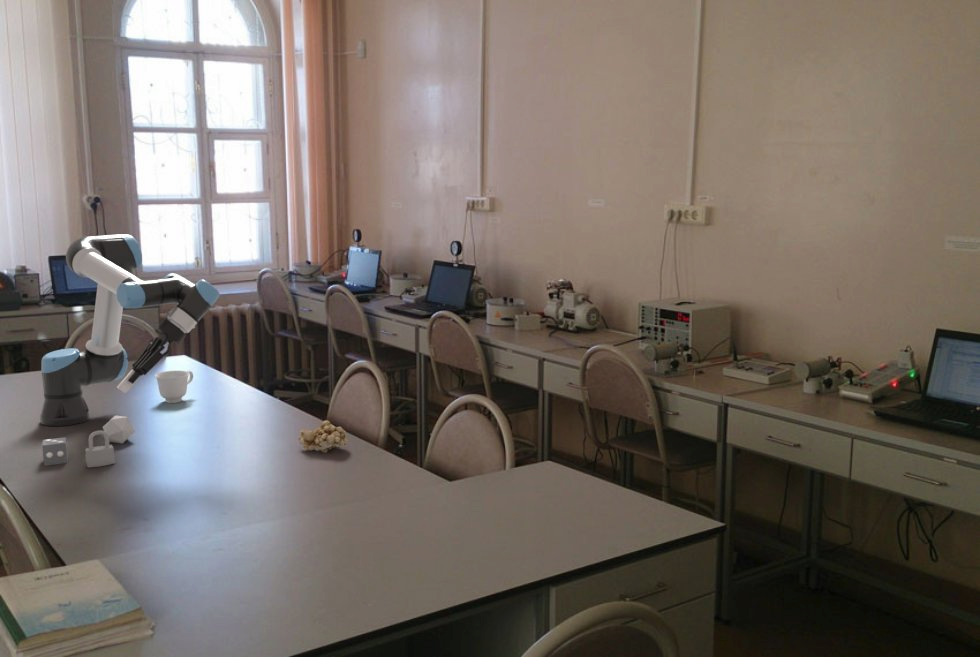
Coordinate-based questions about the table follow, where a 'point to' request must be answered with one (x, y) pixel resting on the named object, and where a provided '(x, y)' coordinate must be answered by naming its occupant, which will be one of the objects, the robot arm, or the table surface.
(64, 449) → the dotted block
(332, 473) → the table surface
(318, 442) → the mineral formation
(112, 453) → the padlock
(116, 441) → the die
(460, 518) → the table surface
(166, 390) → the teacup
